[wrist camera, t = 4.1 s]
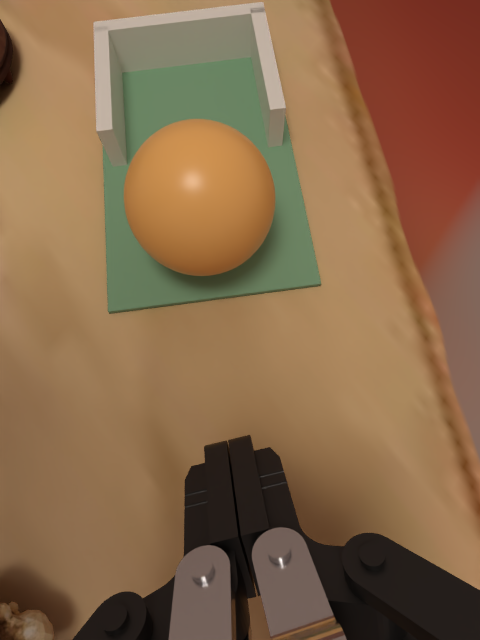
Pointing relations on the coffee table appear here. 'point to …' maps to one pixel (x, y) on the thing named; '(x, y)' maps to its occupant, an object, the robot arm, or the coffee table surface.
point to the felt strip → (245, 116)
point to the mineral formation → (24, 624)
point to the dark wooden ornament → (5, 55)
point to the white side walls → (182, 60)
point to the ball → (199, 197)
